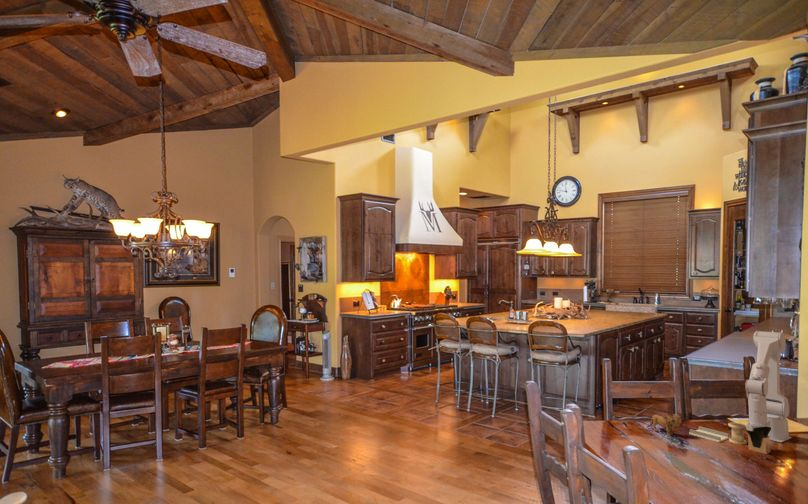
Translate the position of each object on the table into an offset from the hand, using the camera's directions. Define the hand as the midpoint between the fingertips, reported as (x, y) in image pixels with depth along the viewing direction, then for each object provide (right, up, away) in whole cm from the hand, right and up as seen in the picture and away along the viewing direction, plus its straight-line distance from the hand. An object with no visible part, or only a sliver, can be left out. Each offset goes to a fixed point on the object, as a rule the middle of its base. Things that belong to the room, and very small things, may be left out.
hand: (759, 446), depth 189 cm
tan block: (0, -2, 0) cm, 2 cm away
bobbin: (-2, -2, +9) cm, 10 cm away
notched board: (-9, -2, +17) cm, 19 cm away
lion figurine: (-25, -3, +22) cm, 33 cm away
